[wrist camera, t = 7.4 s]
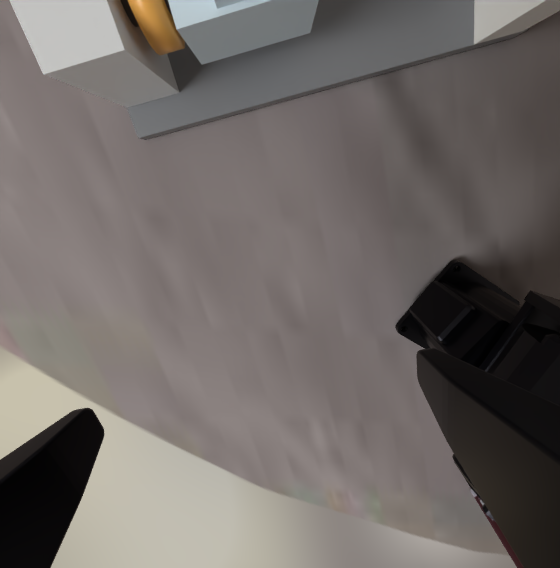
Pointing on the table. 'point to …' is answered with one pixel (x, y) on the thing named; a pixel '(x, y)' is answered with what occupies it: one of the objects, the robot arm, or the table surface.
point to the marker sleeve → (239, 24)
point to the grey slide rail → (251, 52)
